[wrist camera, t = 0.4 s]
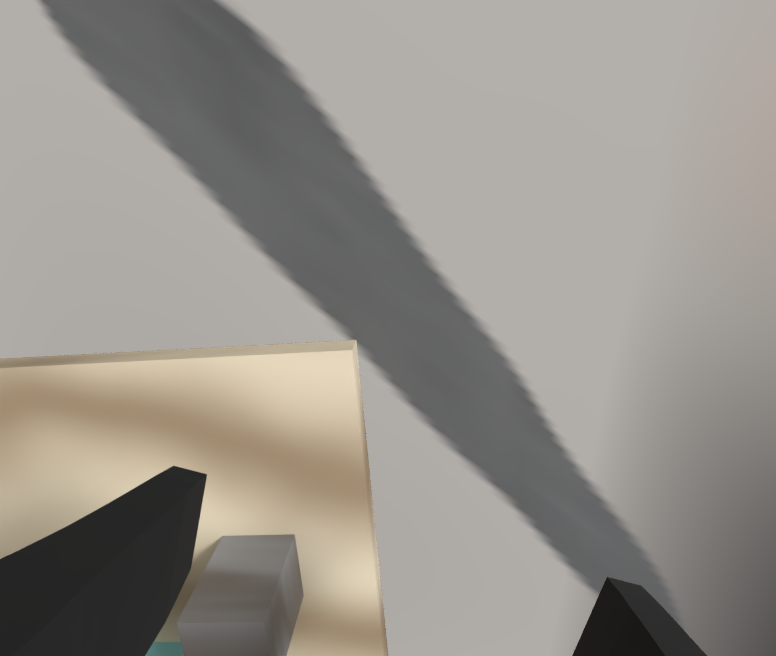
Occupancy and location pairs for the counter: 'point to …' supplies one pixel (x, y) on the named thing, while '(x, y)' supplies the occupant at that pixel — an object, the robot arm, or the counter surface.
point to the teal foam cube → (165, 649)
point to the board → (214, 482)
